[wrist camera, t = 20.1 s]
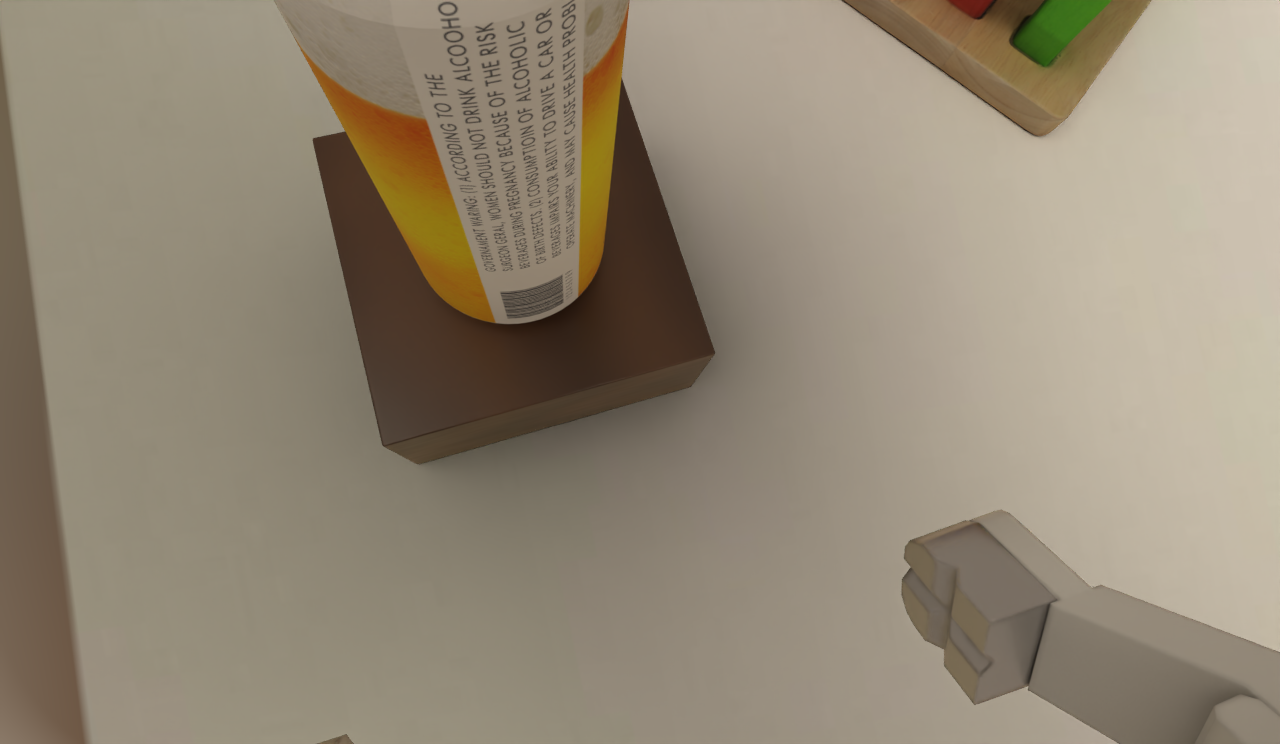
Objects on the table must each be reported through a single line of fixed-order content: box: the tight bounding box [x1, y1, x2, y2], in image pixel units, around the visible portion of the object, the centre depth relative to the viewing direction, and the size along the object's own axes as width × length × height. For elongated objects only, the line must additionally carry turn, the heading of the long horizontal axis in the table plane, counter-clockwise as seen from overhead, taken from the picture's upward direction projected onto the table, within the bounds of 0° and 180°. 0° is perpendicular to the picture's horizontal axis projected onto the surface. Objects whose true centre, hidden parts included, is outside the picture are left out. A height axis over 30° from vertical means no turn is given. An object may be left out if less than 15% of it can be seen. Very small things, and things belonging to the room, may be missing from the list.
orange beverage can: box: [274, 0, 629, 324], centre depth 16 cm, size 6×6×15 cm
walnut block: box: [313, 77, 715, 464], centre depth 26 cm, size 11×11×5 cm
